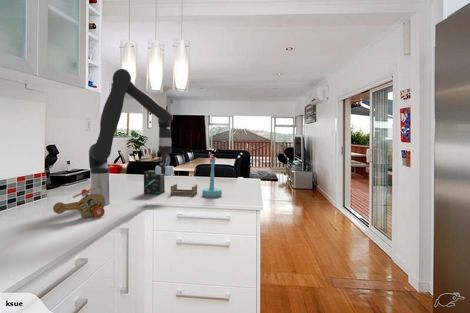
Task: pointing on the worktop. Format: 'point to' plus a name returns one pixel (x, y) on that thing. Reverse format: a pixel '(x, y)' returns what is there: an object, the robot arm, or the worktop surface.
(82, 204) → the toy helicopter
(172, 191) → the roll cradle
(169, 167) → the paper roll
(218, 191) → the blue towel holder stand
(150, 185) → the tampon box
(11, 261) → the worktop surface
